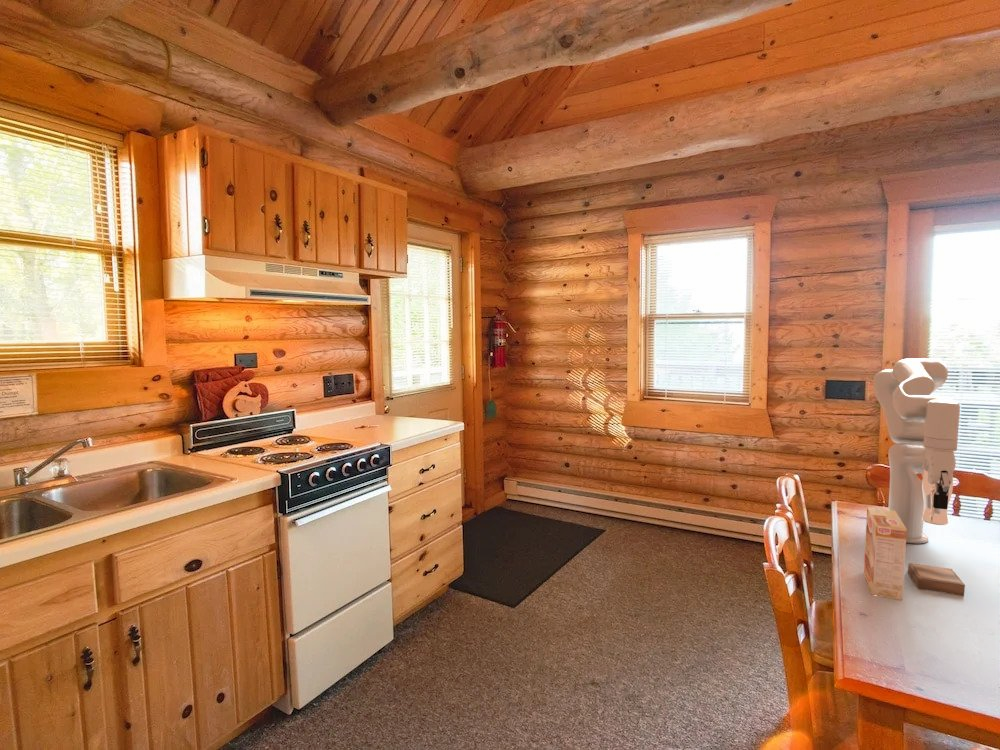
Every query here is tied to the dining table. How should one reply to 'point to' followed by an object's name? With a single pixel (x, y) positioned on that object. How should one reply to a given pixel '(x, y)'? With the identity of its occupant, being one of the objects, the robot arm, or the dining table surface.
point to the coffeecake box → (885, 553)
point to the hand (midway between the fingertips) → (935, 503)
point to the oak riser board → (936, 579)
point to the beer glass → (930, 512)
